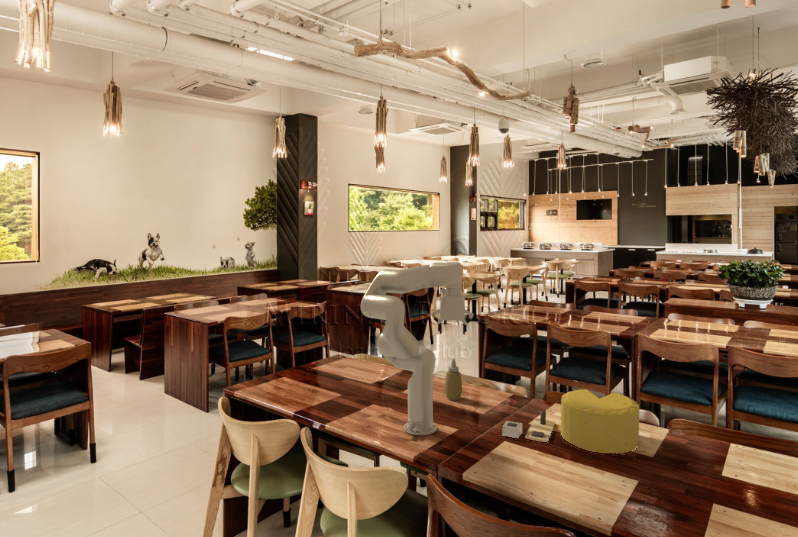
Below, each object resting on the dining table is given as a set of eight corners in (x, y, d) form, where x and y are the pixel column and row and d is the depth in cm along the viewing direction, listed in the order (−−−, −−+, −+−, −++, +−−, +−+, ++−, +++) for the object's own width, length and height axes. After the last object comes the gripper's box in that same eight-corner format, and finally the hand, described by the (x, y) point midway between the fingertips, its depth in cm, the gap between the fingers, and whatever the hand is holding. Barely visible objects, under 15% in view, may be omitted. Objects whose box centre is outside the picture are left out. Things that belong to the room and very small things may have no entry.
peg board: (547, 443, 172) (548, 426, 172) (524, 439, 176) (525, 422, 175) (555, 424, 190) (555, 408, 190) (534, 420, 194) (534, 405, 193)
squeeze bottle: (463, 401, 217) (463, 361, 215) (445, 401, 217) (445, 361, 216) (461, 395, 225) (461, 357, 224) (443, 395, 225) (444, 357, 224)
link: (518, 439, 176) (518, 429, 175) (502, 437, 178) (502, 426, 178) (522, 433, 181) (522, 423, 181) (506, 431, 184) (506, 420, 183)
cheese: (599, 421, 193) (600, 384, 192) (655, 447, 169) (657, 405, 168) (545, 431, 184) (546, 392, 183) (596, 460, 160) (597, 415, 159)
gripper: (430, 293, 197) (430, 334, 199) (473, 293, 195) (473, 336, 196) (432, 290, 205) (432, 331, 206) (473, 291, 202) (473, 332, 203)
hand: (452, 333), depth 201 cm, fingers open, 9 cm apart
